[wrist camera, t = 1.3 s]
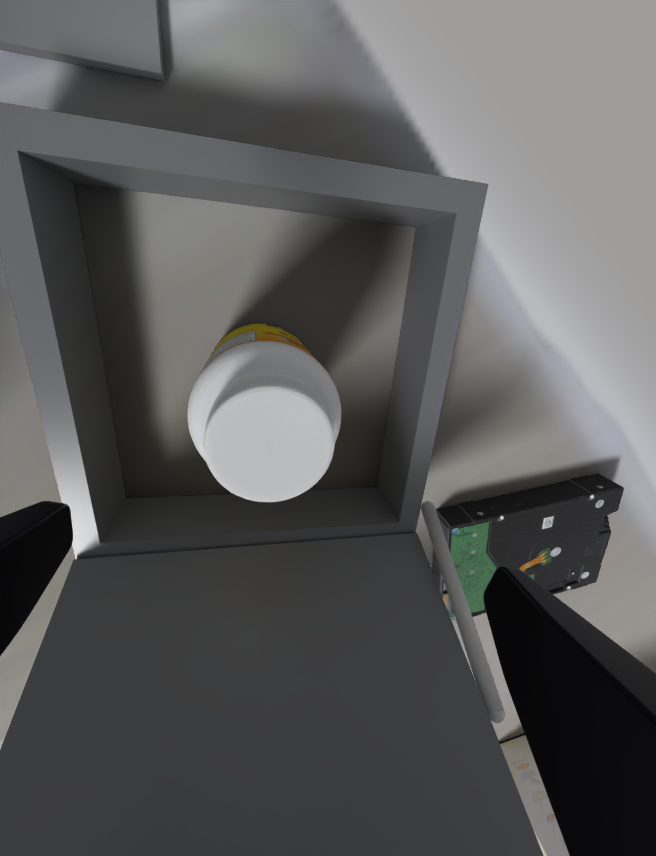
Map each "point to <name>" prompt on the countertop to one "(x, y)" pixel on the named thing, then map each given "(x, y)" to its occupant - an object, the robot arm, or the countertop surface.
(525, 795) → the coffeecake box
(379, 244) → the countertop surface
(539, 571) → the disk drive
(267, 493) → the supplement bottle
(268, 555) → the equipment case
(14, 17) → the rubber mat
